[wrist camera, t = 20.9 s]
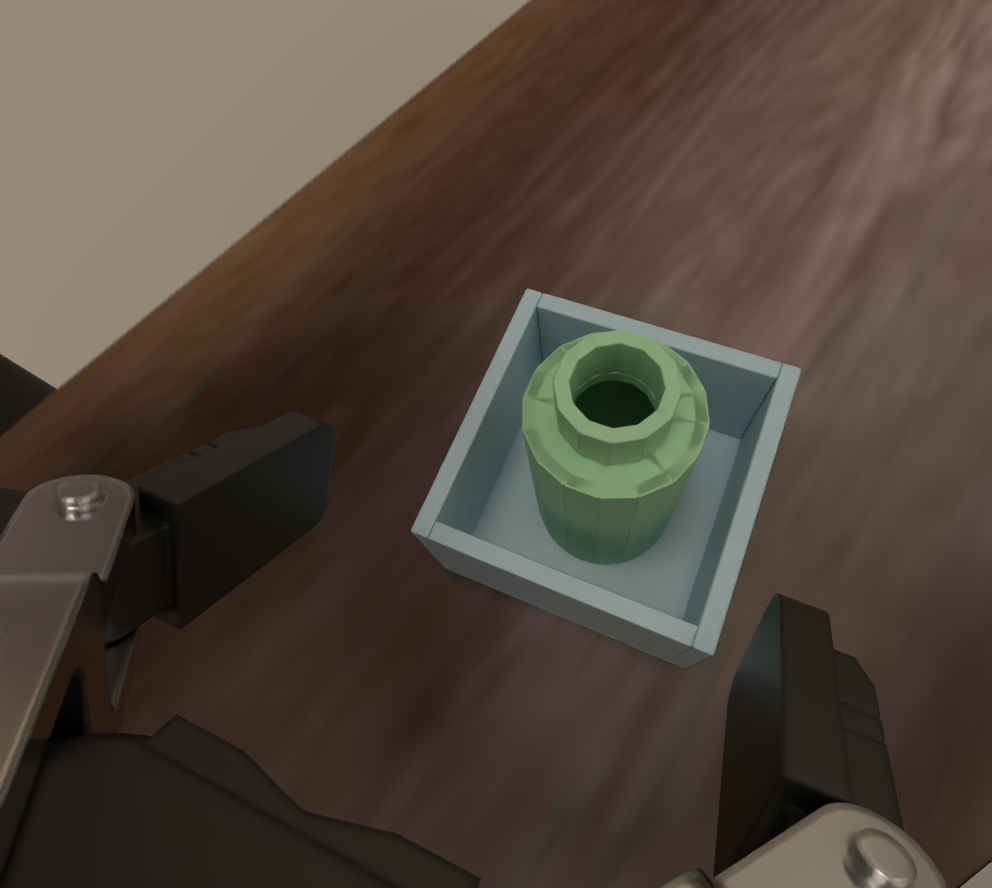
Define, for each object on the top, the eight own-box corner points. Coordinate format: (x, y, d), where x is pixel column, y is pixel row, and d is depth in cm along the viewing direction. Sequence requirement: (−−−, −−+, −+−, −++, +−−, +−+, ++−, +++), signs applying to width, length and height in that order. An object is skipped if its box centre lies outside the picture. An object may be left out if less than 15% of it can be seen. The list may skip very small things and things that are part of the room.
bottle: (520, 535, 25) (486, 438, 16) (566, 424, 26) (559, 278, 17) (645, 585, 23) (683, 508, 15) (686, 465, 25) (744, 330, 16)
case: (444, 568, 25) (409, 531, 20) (536, 365, 28) (526, 287, 23) (684, 669, 23) (713, 656, 18) (758, 436, 25) (802, 367, 20)
